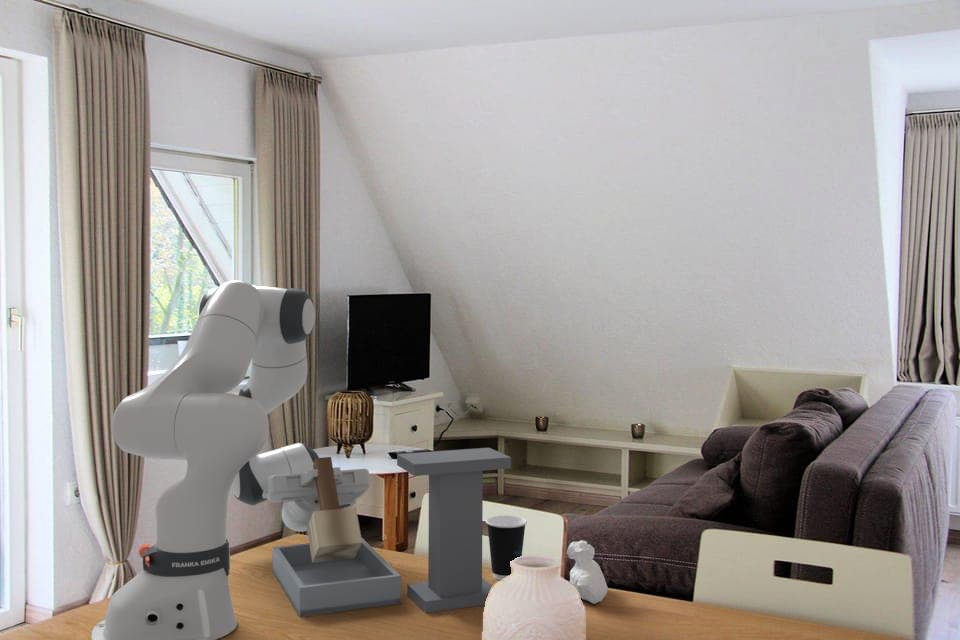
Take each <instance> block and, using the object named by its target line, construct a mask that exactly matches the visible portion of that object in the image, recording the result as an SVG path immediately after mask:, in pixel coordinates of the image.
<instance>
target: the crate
mask: <svg viewBox="0 0 960 640" xmlns="http://www.w3.org/2000/svg"><path fill="white" fill-rule="evenodd" d="M361 539H362V544H361V546H360V548H359V550H358V552H357V554H356V556H355V558H351V559H342V560H333V561H325V562H316V563H312V557H311V551H310V544H309V542H308V543H297V544H291V545H290V544H289V545H279V546H272V573H273V576H274V577H275V579H276V580H277V582H278V584H279V586H281V588H282V590H283V592H284V593H285V595H286V597H287V598H288V600H289V602H290V603H291V605H292V607H293V608H294V610H295V612H296V613H297V615H298V617H299V618H301V617H309V616H317V615H326V614H332V613H339V612H340V613H341V612H348V611H353V610H354V611H355V610H362V609H363V610H364V609H370V608H378V607H379V608H380V607H384V606H391V605H400V604H402V575H401V574H400V573H399V572H398V571H397V570H396V569H394V568H393V566H391V564H389V563H388V562H387V561H386V559H384V558H383V557H382V556H381V555H380V554H379V553H378V551H376V550H375V548H373V547H372V546H371V545H370V544H369V543H368V542H367V541H366V540H365V539H364V538H363V537H361Z"/></svg>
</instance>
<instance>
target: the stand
mask: <svg viewBox="0 0 960 640" xmlns="http://www.w3.org/2000/svg"><path fill="white" fill-rule="evenodd" d="M396 466H398V468H399V467H400V468H401V469H403V470H404V471H406V472H408V473H409V474H411V475H412V476H414V477H417V476H418V477H419V476H420V477H421V476H428V561H427V562H428V565H427V566H428V567H427V568H428V571H427V573H428V576H427V577H428V578H427V579H428V581H420V582H419V581H418V582H412V583H407V589H406V591H407V593H406V594H407V596H408V597H409V598H410V599H411V600H412V601H413V602H414V603H415V604H416V606H418V607H419V608H420V609H421V610H422V611H423V612H424V614H428V613H435V612H443V611H449V610H455V609H456V610H458V609H464V608H471V607H477V606H478V607H479V606H485V605H484V604H485V601H486V598H487V596H488V593H489V591H490V589H491V587H492V586H493V585H492V584H491V583H489V582H488V581H487V580H485V578H483V508H484V506H483V501H484V500H483V497H484V495H483V494H484V493H483V491H484V490H483V489H484V488H483V487H484V484H483V482H484V480H483V479H484V477H483V475H484V471H495V470H497V471H498V470H506V469H507V470H508V469H512V457H511V456H509V455H507V454H504V453H502V452H500V451H497V450H496V449H493V448H491V447H480V448H479V447H478V448H464V449H450V450H439V451H438V450H436V451H435V450H434V451H423V452H422V451H421V452H420V451H419V452H408V453H397V454H396Z"/></svg>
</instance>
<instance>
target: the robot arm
mask: <svg viewBox="0 0 960 640" xmlns="http://www.w3.org/2000/svg"><path fill="white" fill-rule="evenodd" d="M198 310H199V311H198V317H197V320H196V323H195V324H194V326H193V329H192V332H191V334H190V335H189V338H188V340H187V342H186V344H185V346H184V348H183V349H182V352H181V354H180V355H179V357H178V358H177V360H176V361H175V362H174V363H173V364H172V365H171V366H170V368H169V369H167V371H165V372H164V373H163V374H162V375H161V376H160V377H158V378H157V379H156V380H155V381H154V382H152V383H151V384H149V385H148V386H146V387H144V388H142V389H141V390H138V391H136V392H134V393H132V394H130V395H127V396H125V397H124V398H123V399H122V400H121V402H119V404H118V405H117V407H116V408H115V411H114V413H113V415H112V420H111V432H112V435H113V438H114V439H113V440H114V441H115V443H116V445H117V446H118V448H119V449H120V450H122V451H123V452H124V453H128V454H131V455H134V456H140V457H143V458H147V459H157V460H181V461H183V460H185V461H187V467H186V473H185V476H184V478H183V479H181V480H178V481H176V482H175V483H172V484H171V485H170V486H168V487H167V488H165V489H164V490H163V491H162V492H161V493H160V495H159V497H158V498H157V500H156V502H155V544H153V545H152V546H151V544H148V543H142V544H141V545H140V547H138V555H139V556H140V558H142V570H141V571H140V572H138V574H136V575H135V576H134V577H133V578H131V579H130V580H128V581H127V582H126V583H125V584H124V585H122V586H121V587H120V588H119V589H117V590H116V591H115V592H114V594H113V595H112V596H111V598H110V601H109V603H108V605H107V608H106V609H107V610H106V614H105V619H103V620H102V621H99V622H98V623H96V625H95V626H94V627H93V628H92V630H91V636H90V640H218V639H220V638H223V637H224V636H226V635H229V634H231V633H232V632H233V631H234V630H235V629H236V628H237V626H238V620H237V619H236V614H235V612H234V607H233V603H232V598H231V592H230V585H229V584H230V583H229V575H230V569H231V548H230V542H229V541H228V540H229V539H227V519H228V502H229V495H230V491H231V489H232V493H233V495H234V497H235V498H236V500H238V501H240V502H242V503H243V504H247V505H250V506H252V507H253V506H256V505H258V504H261V503H263V502H266V501H269V502H271V503H276V504H277V503H283V504H282V507H281V518H282V521H283V524H284V526H286V527H287V528H288V529H289V530H292V531H295V532H308V530H307V527H308V524H309V522H310V519H311V516H312V514H313V511H320V506H319V500H318V493H317V487H316V481H315V480H317V478H318V473H317V472H318V469H314V468H313V464H314V461H315V459H316V458H320V456H319V455H318V453H317V452H316V451H315V450H314V449H313V448H311V447H310V446H309V445H307V444H306V443H302V442H295V443H292V444H289V445H284V446H281V447H279V448H276V449H273V450H269V451H265V452H263V453H259V452H260V451H261V450H262V449H263V447H264V446H265V444H266V442H267V439H268V436H269V430H270V429H269V428H270V426H269V425H270V424H269V418H268V415H269V414H271V412H272V411H274V410H275V409H276V408H278V407H279V406H281V405H282V404H284V403H286V402H288V401H289V400H291V399H292V398H294V396H296V395H297V394H298V392H299V391H301V389H302V388H303V386H304V385H305V383H306V381H307V377H308V366H309V365H308V357H307V348H306V347H307V346H306V341H305V340H307V338H308V337H309V336H311V334H312V333H313V330H314V326H315V322H316V321H315V320H316V309H315V303H314V301H313V299H312V298H311V296H310V295H309V293H307V291H305V290H302V289H298V288H293V287H288V288H283V287H275V286H265V285H258V284H251V283H250V282H249V283H248V282H246V281H242V280H229V281H225V282H223V283H221V284H220V285H219V286H215V287H212V288H210V289H209V290H208V291H207V292H205V294H204V295H203V296H202V297H201V300H200V303H199V308H198ZM250 364H251V369H250V370H251V371H250V373H249V377H248V379H247V381H246V384H245V385H244V386H242V388H241V389H240V390H239V391H238V392H239V393H238V395H237V394H233V393H228V392H231V391H232V390H234V389H236V388H237V387H238V386H239V385H241V383H242V382H243V381H244V380H245V377H246V376H247V375H246V374H247V372H248V370H249V367H250ZM333 471H334V477H335V483H336V489H337V495H338V501H339V507H340V509H345V508H351V507H353V506H355V505H356V504H357V500H358V499H360V498H362V496H364V495H365V494H366V493H367V492H368V491H369V489H370V487H371V476H370V471H369V470H368V469H367V468H356V469H355V468H353V469H341V467H340V466H338V467H333Z"/></svg>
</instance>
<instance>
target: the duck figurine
mask: <svg viewBox="0 0 960 640" xmlns="http://www.w3.org/2000/svg"><path fill="white" fill-rule="evenodd" d="M595 552H596V550H595V548H594V547H593V546H592V545H591V544H588V542H587V541H586V540H583V539H582V540H579V541H572V542H570V544H569V545H568V547H567V550H566V555H567V557H568V558H569V559H571V560H574V561H575V564H574V566H573V567H572V568H571V569H570V571H569V584H570V583H572V584H574V586H575V587H576V589H577V590H578V592H579V593H580V596H581V598H582V599H581V600H585V601H587V602H590V603H591V604H592V605H593V604H594V605H595V604H598V603H601V602H603V600H604V598H605V597H606V595H607V593H608V589H609V587H608V585H607V582H606V579H605V576H604V573H603V572H602V570H601V566H600V565H599V564H598V562H596V560H594V557H595Z"/></svg>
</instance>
